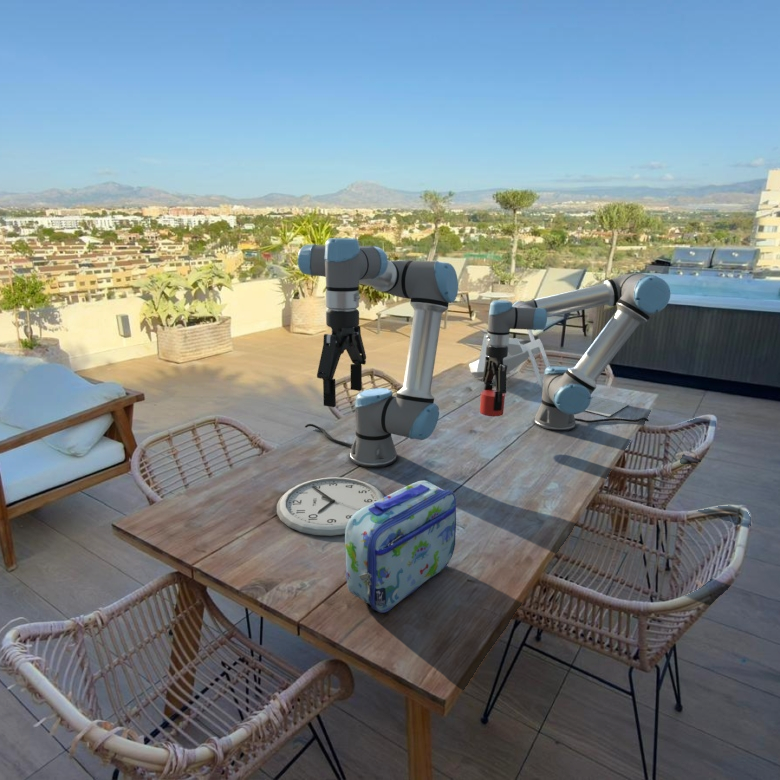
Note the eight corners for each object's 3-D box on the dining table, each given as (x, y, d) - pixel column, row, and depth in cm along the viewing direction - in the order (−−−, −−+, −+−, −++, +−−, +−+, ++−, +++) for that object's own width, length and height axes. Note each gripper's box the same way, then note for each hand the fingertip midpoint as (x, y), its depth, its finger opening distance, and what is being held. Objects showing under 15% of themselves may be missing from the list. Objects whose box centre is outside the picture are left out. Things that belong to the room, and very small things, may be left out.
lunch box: (374, 626, 100) (375, 530, 93) (338, 598, 107) (337, 508, 101) (459, 568, 117) (465, 484, 111) (424, 547, 124) (427, 467, 118)
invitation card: (608, 416, 214) (573, 407, 224) (608, 416, 214) (573, 408, 224) (628, 404, 229) (594, 396, 238) (628, 405, 229) (594, 397, 238)
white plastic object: (490, 419, 265) (470, 397, 240) (471, 347, 287) (451, 319, 262) (561, 395, 253) (548, 369, 228) (536, 321, 275) (521, 290, 250)
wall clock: (392, 527, 129) (268, 531, 127) (391, 533, 130) (269, 537, 127) (383, 473, 158) (282, 475, 155) (383, 478, 158) (282, 480, 156)
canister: (477, 414, 189) (478, 394, 187) (482, 407, 196) (484, 388, 194) (500, 418, 186) (502, 398, 184) (505, 410, 193) (507, 391, 191)
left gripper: (330, 318, 106) (332, 416, 113) (379, 303, 128) (378, 385, 135) (298, 315, 109) (302, 411, 115) (352, 301, 131) (352, 382, 137)
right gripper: (476, 339, 193) (472, 397, 199) (499, 352, 173) (494, 416, 180) (495, 338, 194) (490, 396, 201) (520, 351, 174) (514, 415, 181)
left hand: (343, 397), depth 125 cm, fingers open, 13 cm apart
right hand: (492, 406), depth 190 cm, fingers closed on canister, 8 cm apart
